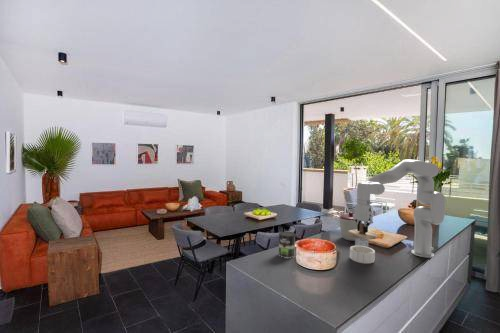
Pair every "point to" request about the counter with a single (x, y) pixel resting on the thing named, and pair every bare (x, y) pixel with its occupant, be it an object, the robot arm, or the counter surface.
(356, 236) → the oak lid
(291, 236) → the coffee can
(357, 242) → the medicine box
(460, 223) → the counter surface
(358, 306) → the counter surface
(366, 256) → the cream bowl
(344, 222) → the canister
